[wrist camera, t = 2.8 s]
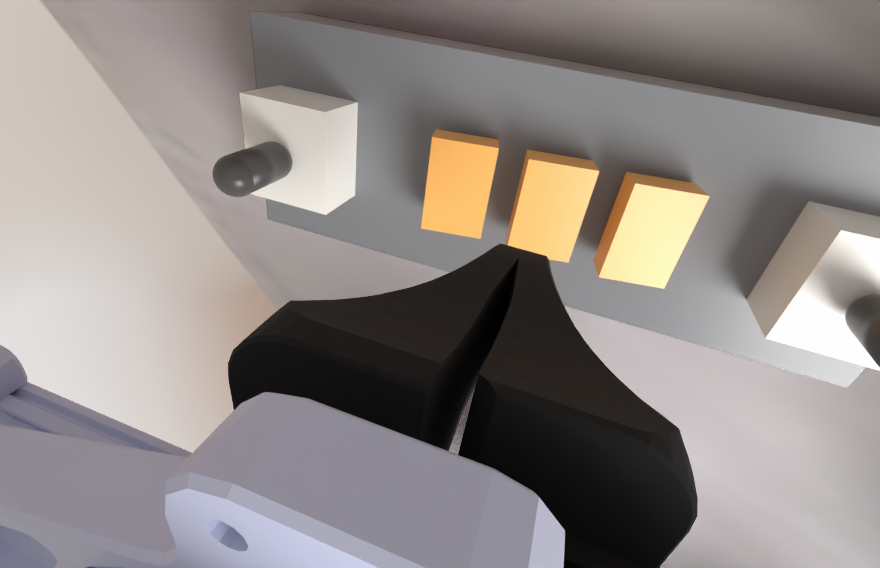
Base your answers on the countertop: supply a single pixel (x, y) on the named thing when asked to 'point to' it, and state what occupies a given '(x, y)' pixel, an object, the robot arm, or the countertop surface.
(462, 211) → the switch
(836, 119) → the power strip
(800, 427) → the countertop surface
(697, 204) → the switch
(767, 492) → the countertop surface
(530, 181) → the middle switch
